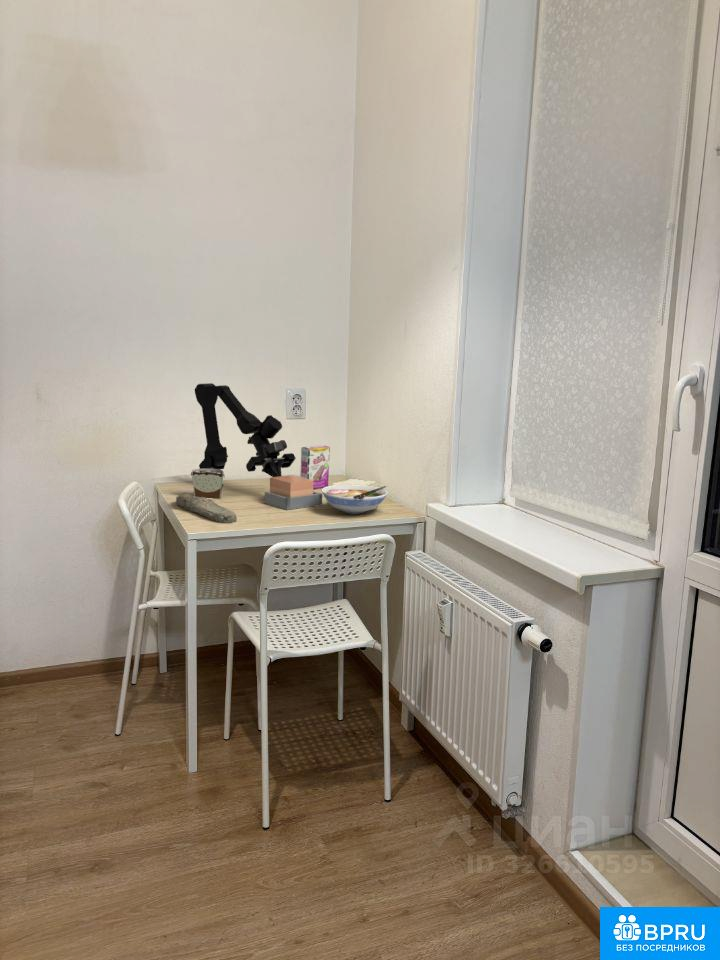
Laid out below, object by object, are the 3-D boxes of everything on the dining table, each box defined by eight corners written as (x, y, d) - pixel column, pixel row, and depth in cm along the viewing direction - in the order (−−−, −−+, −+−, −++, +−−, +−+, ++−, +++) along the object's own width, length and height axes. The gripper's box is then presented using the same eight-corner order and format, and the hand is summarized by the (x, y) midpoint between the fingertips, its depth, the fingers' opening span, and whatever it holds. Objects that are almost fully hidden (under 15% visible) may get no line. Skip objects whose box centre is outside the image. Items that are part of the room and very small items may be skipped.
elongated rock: (216, 530, 241) (244, 527, 247) (217, 513, 240) (245, 511, 246) (167, 502, 268) (194, 501, 274) (168, 488, 267) (195, 486, 273)
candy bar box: (308, 490, 299) (309, 448, 296) (299, 488, 303) (300, 446, 300) (329, 487, 307) (330, 446, 304) (320, 485, 311) (321, 444, 308)
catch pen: (264, 503, 274) (264, 492, 274) (299, 498, 285) (299, 487, 284) (287, 510, 265) (287, 498, 264) (322, 504, 275) (322, 493, 274)
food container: (228, 496, 284) (228, 469, 282) (224, 499, 278) (224, 472, 276) (195, 494, 285) (195, 467, 283) (190, 497, 279) (190, 470, 277)
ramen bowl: (340, 501, 282) (341, 479, 281) (398, 509, 272) (399, 486, 271) (306, 514, 260) (307, 490, 258) (368, 523, 250) (369, 498, 249)
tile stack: (269, 502, 277) (269, 477, 275) (291, 499, 283) (292, 474, 282) (290, 508, 268) (290, 483, 266) (312, 505, 275) (313, 480, 273)
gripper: (250, 434, 274) (268, 469, 268) (293, 431, 286) (311, 465, 280) (238, 453, 281) (255, 488, 275) (280, 449, 293) (297, 483, 287)
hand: (280, 480), depth 279 cm, fingers closed
